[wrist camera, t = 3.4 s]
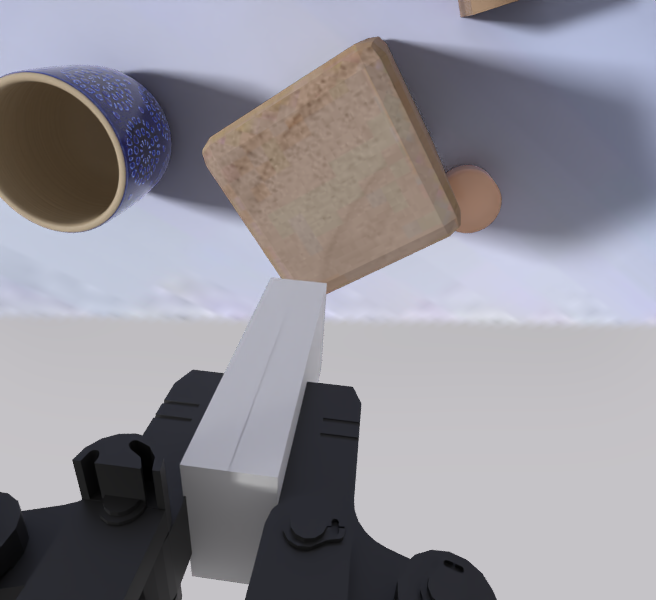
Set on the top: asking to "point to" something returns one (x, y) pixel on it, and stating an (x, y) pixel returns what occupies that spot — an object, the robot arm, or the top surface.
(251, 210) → the wooden block
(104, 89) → the planter
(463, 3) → the walnut cube
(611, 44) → the top surface
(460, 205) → the terracotta puck
